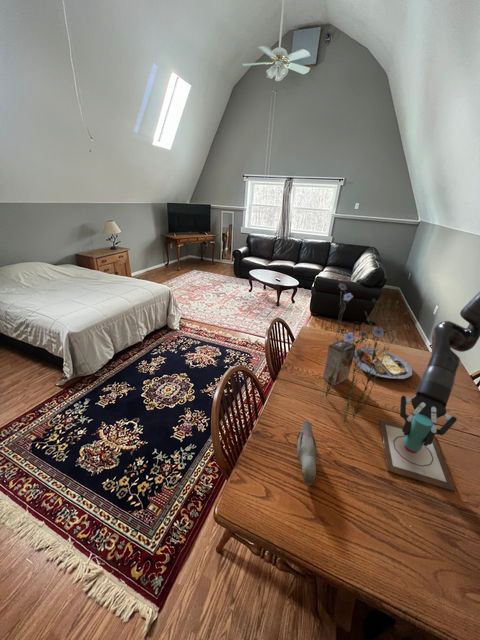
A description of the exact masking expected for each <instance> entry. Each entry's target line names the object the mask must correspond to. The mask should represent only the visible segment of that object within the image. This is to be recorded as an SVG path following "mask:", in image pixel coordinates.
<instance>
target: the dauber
mask: <svg viewBox="0 0 480 640" xmlns="http://www.w3.org/2000/svg"><path fill="white" fill-rule="evenodd" d="M432 425H433V422H432V420H431V419H430V418H429V417H427V416H425V415H423V414H416V415H415V416H414V418H413V420H412V421H411V426H410V429H409V431H408V434H407V436H405V439H404V441H403V442H404V448H405V449H406V450H407V451H409V452H411V453H417V452H418V451H420V450H421V448H422V446H423V444H424V442H425V440H426V438H427V436H428V434H429V432H430V429H431V427H432Z"/></svg>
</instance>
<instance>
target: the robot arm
mask: <svg viewBox="0 0 480 640" xmlns="http://www.w3.org/2000/svg"><path fill="white" fill-rule="evenodd" d="M459 315H460V317H461V319H463V320H465V322H467V323H468V326H467V327H465V326H464V327H463V326H461V325H459V324H457V323H455V322H453V321H450V320H443V321H441V322H439V323H438V324H436V326H435V327H434V329H433V330H432V336H431V356H430V358H429V361H428V363H427V365H426V368H425V370H424V371H423V374H422V375H421V377H420V381H419V384H418V386H417V388H416V392H415V394H414V395H413V396H412V397H408V396H406V395H401V397H400V407H399V416H400V417H401V418H402V419H403V420H404V424H403V426H404V427H403V429H402V432H404V435H405V436H407V434H408V431H409V429H410V426H411V423H412V420H413V418H414V416H415V415H416V414H423V415H425V416H427V417H429V418H430V419H431V420H432V422H433V425H432V427H431V429H430V432H429V434H428V436H427V438H426V440H425V442H424V445H425V446H428V445H431V444H432V441H433V438H434V436H436V435H437V436H438V435H439V436H444V435H445V434H446V433H447V432H448V431H449V430H450V429H451V427H452V426H453V425H455V423H456V422H457V421H458V420H457V417H456V416H452V415H451V414H449V413H448V412H447V404H448V402H449V399H450V396H451V393H452V391H453V388H454V385H455V380H456V377H457V373H458V370H459V368H460V365H461V358H460V357H459V355H457V354H456V353H455V352H454V351H456V352H460V353H465V352H467V351H470V350H471V349H473V348H474V347H475V346H476V344H477V343H478V341H479V339H480V291H478V293H476V294H475V296H474V297H473V298H472V299H470V300H469V302H468V303H466V305H465V306H464V307H463V308H462V309H461V310H460V312H459ZM453 350H454V351H453ZM410 403H411V405H412V408H413V411H412V412H411V413H410V414H409V415H408V414H406V413H407V405H409V404H410ZM441 417H444V420H443V421H444V422H445V423H443V425H442V426H441V427H440V429H438V428H437V422H438V421H437V420H438V419H439V418H441Z"/></svg>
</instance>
